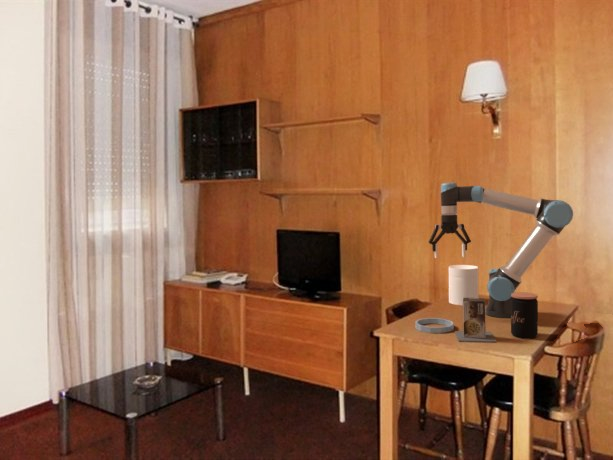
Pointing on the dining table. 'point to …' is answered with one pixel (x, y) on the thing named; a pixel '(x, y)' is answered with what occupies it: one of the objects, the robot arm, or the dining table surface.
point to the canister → (462, 283)
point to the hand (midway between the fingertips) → (449, 257)
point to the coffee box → (474, 317)
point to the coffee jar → (524, 315)
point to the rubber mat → (467, 339)
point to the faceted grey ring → (434, 329)
